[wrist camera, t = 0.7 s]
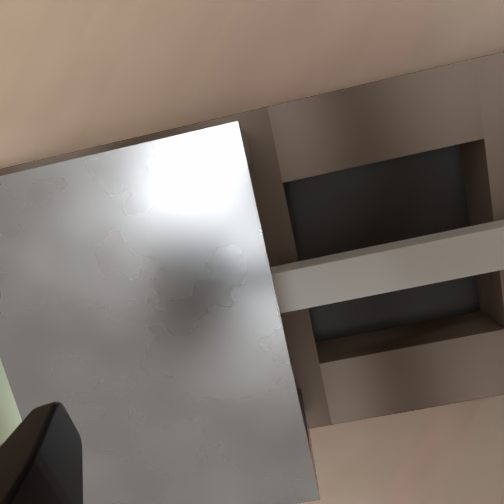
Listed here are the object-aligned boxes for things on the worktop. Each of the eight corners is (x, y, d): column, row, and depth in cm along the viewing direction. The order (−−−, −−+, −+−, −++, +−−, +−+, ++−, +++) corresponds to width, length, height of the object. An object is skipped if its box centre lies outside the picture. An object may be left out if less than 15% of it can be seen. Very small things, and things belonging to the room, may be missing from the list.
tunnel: (246, 133, 17) (238, 121, 12) (306, 412, 20) (320, 499, 15) (32, 182, 18) (-59, 190, 13) (115, 446, 20) (64, 541, 15)
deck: (616, 32, 19) (669, 13, 16) (634, 340, 21) (682, 363, 19) (-197, 221, 21) (-257, 229, 19) (-94, 471, 24) (-135, 506, 22)
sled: (637, 99, 16) (742, 81, 13) (648, 310, 18) (744, 347, 14) (50, 229, 18) (-4, 245, 15) (107, 410, 20) (70, 466, 16)
